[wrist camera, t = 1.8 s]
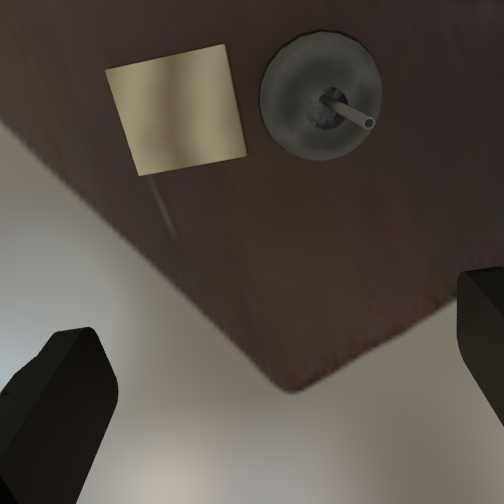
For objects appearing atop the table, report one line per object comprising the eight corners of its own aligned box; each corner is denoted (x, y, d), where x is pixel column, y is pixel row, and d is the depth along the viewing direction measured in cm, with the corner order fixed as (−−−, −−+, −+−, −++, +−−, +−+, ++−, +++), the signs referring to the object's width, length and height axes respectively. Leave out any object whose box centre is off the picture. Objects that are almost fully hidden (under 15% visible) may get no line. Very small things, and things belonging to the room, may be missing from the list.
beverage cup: (259, 35, 34) (244, 33, 16) (352, 27, 34) (441, 17, 16) (265, 128, 37) (257, 212, 19) (349, 123, 37) (421, 204, 19)
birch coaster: (225, 43, 34) (224, 44, 34) (247, 153, 38) (246, 156, 37) (109, 69, 36) (104, 70, 35) (141, 172, 40) (138, 175, 39)
